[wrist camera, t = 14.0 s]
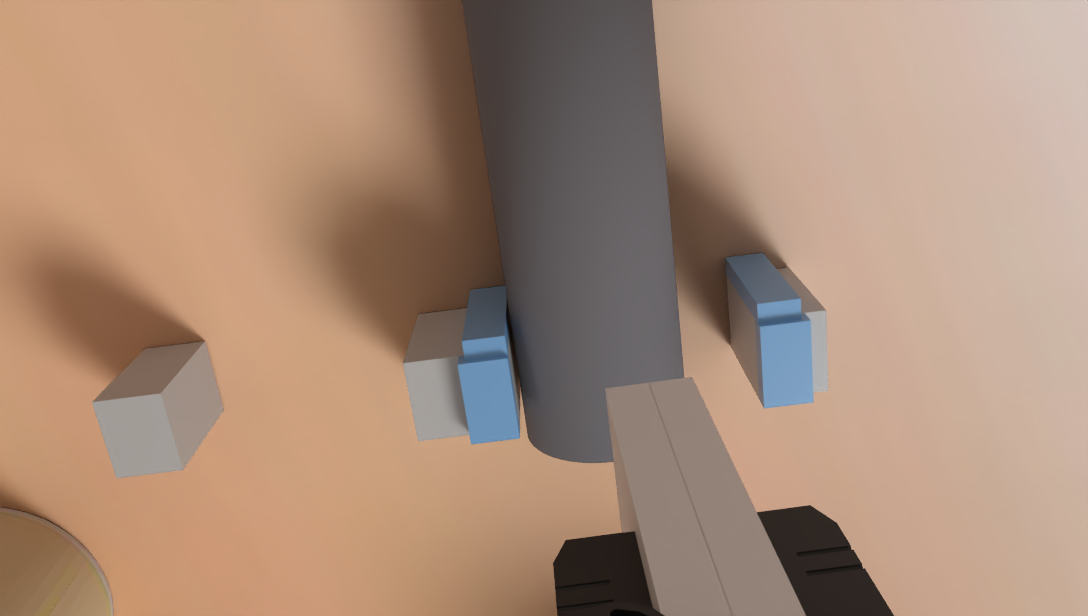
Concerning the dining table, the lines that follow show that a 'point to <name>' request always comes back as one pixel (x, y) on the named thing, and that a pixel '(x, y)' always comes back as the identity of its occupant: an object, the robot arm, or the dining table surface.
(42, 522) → the coffee cup
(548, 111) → the dark gray cylinder
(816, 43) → the dining table surface
